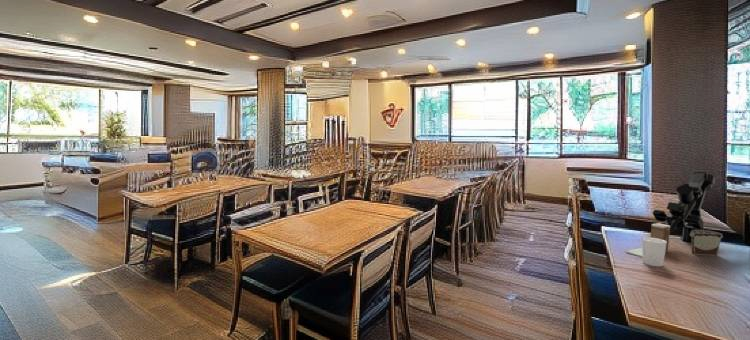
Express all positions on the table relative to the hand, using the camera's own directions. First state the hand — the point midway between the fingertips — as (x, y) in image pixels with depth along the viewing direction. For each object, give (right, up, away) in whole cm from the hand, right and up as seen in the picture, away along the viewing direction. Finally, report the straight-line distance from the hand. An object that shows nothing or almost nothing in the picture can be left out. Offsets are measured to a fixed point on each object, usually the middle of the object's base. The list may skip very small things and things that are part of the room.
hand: (668, 232), depth 175 cm
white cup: (-21, -10, -19) cm, 30 cm away
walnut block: (-6, -8, -2) cm, 10 cm away
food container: (+11, -9, -4) cm, 15 cm away
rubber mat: (-15, -8, -6) cm, 18 cm away
